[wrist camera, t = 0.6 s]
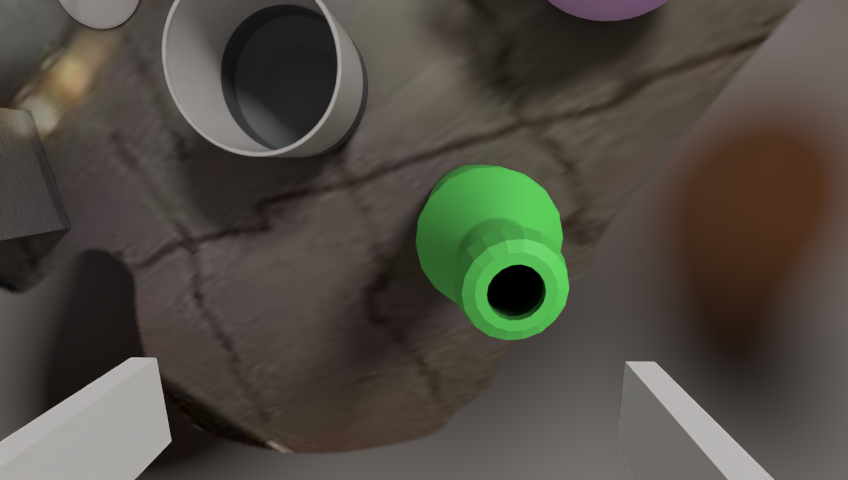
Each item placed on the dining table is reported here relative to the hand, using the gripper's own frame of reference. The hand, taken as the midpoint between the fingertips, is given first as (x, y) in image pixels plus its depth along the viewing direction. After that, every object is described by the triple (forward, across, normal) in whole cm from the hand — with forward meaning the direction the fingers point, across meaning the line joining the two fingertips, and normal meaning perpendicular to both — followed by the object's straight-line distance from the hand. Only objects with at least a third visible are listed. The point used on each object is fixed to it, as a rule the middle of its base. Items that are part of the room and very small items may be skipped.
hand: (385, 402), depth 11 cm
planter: (+29, -12, +13) cm, 34 cm away
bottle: (+29, +4, +1) cm, 30 cm away
